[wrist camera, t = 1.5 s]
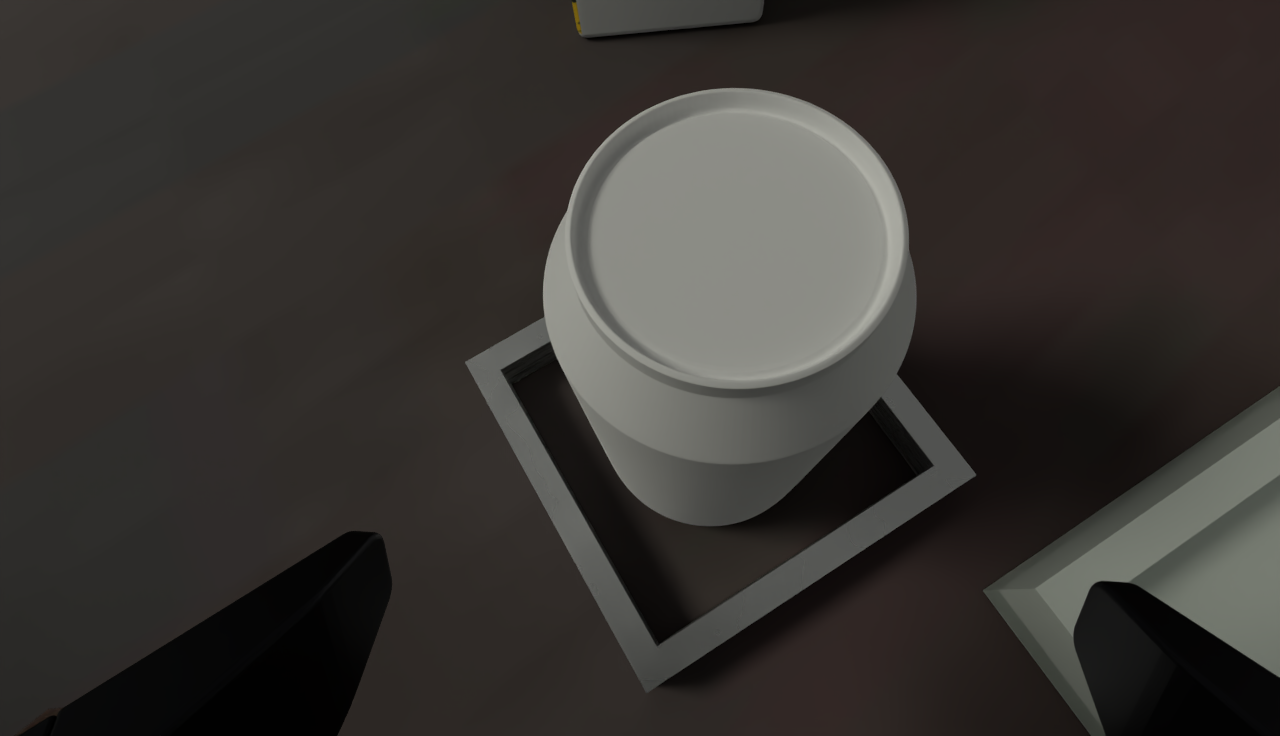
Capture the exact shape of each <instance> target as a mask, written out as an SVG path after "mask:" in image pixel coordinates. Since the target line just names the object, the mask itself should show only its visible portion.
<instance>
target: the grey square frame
mask: <svg viewBox="0 0 1280 736" xmlns="http://www.w3.org/2000/svg"><path fill="white" fill-rule="evenodd" d="M556 359H557V357H556V355H555V352H554V350H553V347H552V344H551V341H550V338H549V334H548V330H547V326H546V320H545V317H544V318H542V319H540V320H538V321H537V322H535V323H533V324H531V325H530V326H528V327H526V328H524V329H522V330H521V331H519V332H517V333H515V334H514V335H512V336H510V337H508V338H507V339H505V340H503V341H501V342H500V343H498V344H496V345H494V346H493V347H491V348H489V349H487V350H486V351H484V352H482V353H480V354H479V355H477V356H475V357H473V358H472V359H470V360H468V361H466V362H465V363H466V365H467V367H468V368H469V370H470V372H471V374H472V376H473V377H474V379H475V381H476V383H477V385H478V387H479V388H480V390H481V392H482V394H483V396H484V398H485V399H486V401H487V403H488V405H489V407H490V408H491V410H492V412H493V414H494V416H495V418H496V419H497V421H498V423H499V425H500V427H501V429H502V430H503V432H504V434H505V436H506V438H507V440H508V441H509V443H510V445H511V447H512V449H513V450H514V452H515V454H516V456H517V458H518V460H519V461H520V463H521V465H522V467H523V469H524V471H525V472H526V474H527V476H528V478H529V480H530V481H531V483H532V485H533V487H534V489H535V491H536V492H537V494H538V496H539V498H540V500H541V502H542V503H543V505H544V507H545V509H546V511H547V512H548V514H549V516H550V518H551V520H552V522H553V523H554V525H555V527H556V529H557V531H558V533H559V534H560V536H561V538H562V540H563V542H564V543H565V545H566V547H567V549H568V551H569V553H570V554H571V556H572V558H573V560H574V562H575V564H576V565H577V567H578V569H579V571H580V573H581V574H582V576H583V578H584V580H585V582H586V584H587V585H588V587H589V589H590V591H591V593H592V595H593V596H594V598H595V600H596V602H597V604H598V606H599V607H600V609H601V611H602V613H603V615H604V616H605V618H606V620H607V622H608V624H609V626H610V627H611V629H612V631H613V633H614V635H615V637H616V638H617V640H618V642H619V644H620V646H621V647H622V649H623V651H624V653H625V655H626V657H627V658H628V660H629V662H630V664H631V666H632V668H633V669H634V671H635V673H636V675H637V677H638V678H639V680H640V682H641V684H642V686H643V688H644V689H645V691H646V693H648V692H649V691H651V690H652V689H654V688H655V687H657V686H658V685H660V684H661V683H663V682H664V681H666V680H667V679H669V678H670V677H672V676H673V675H675V674H676V673H678V672H679V671H681V670H682V669H684V668H685V667H687V666H688V665H690V664H691V663H693V662H694V661H696V660H698V659H699V658H701V657H702V656H704V655H705V654H707V653H708V652H710V651H711V650H713V649H714V648H716V647H717V646H719V645H720V644H722V643H723V642H725V641H726V640H728V639H729V638H731V637H732V636H734V635H735V634H737V633H738V632H740V631H741V630H743V629H744V628H746V627H747V626H749V625H750V624H752V623H754V622H755V621H757V620H758V619H760V618H761V617H763V616H764V615H766V614H767V613H769V612H770V611H772V610H773V609H775V608H776V607H778V606H779V605H781V604H782V603H784V602H785V601H787V600H788V599H790V598H791V597H793V596H794V595H796V594H797V593H799V592H800V591H802V590H803V589H805V588H806V587H808V586H810V585H811V584H813V583H814V582H816V581H817V580H819V579H820V578H822V577H823V576H825V575H826V574H828V573H829V572H831V571H832V570H834V569H835V568H837V567H838V566H840V565H841V564H843V563H844V562H846V561H847V560H849V559H850V558H852V557H853V556H855V555H856V554H858V553H859V552H861V551H862V550H864V549H866V548H867V547H869V546H870V545H872V544H873V543H875V542H876V541H878V540H879V539H881V538H882V537H884V536H885V535H887V534H888V533H890V532H891V531H893V530H894V529H896V528H897V527H899V526H900V525H902V524H903V523H905V522H906V521H908V520H909V519H911V518H912V517H914V516H915V515H917V514H918V513H920V512H922V511H923V510H925V509H926V508H928V507H929V506H931V505H932V504H934V503H935V502H937V501H938V500H940V499H941V498H943V497H944V496H946V495H947V494H949V493H950V492H952V491H953V490H955V489H956V488H958V487H959V486H961V485H962V484H964V483H965V482H967V481H968V480H970V479H971V478H973V477H974V476H976V474H975V472H974V471H973V470H972V468H971V467H970V466H969V465H968V463H967V462H966V461H965V460H964V458H963V457H962V456H961V455H960V453H959V452H958V451H957V449H956V448H955V447H954V446H953V444H952V443H951V442H950V441H949V439H948V438H947V437H946V436H945V434H944V433H943V432H942V431H941V429H940V428H939V427H938V425H937V424H936V423H935V422H934V420H933V419H932V418H931V417H930V415H929V414H928V413H927V412H926V410H925V409H924V408H923V406H922V405H921V404H920V403H919V401H918V400H917V399H916V398H915V396H914V395H913V394H912V393H911V391H910V390H909V389H908V388H907V386H906V385H905V384H904V382H903V381H902V380H901V379H900V377H899V376H898V375H897V374H896V375H895V377H894V379H893V381H892V382H891V384H890V385H889V387H888V388H887V390H886V391H885V392H884V394H883V395H882V396H881V397H880V399H879V400H878V401H877V402H876V403H875V404H874V406H873V407H872V408H871V409H870V410H869V411H868V412H869V413H870V415H871V416H872V417H873V419H874V420H875V421H876V422H877V424H878V425H879V426H880V428H881V429H882V430H883V432H884V433H885V434H886V436H887V437H888V438H889V440H890V441H891V442H892V444H893V445H894V446H895V448H896V449H897V450H898V451H899V453H900V454H901V455H902V457H903V458H904V459H905V461H906V462H907V463H908V465H909V466H910V467H911V469H912V470H913V471H914V473H915V474H916V476H915V477H913V478H912V479H910V480H909V481H907V482H905V483H904V484H902V485H901V486H899V487H898V488H896V489H895V490H893V491H892V492H890V493H889V494H887V495H886V496H884V497H882V498H881V499H879V500H878V501H876V502H875V503H873V504H872V505H870V506H869V507H867V508H866V509H864V510H863V511H861V512H859V513H858V514H856V515H855V516H853V517H852V518H850V519H849V520H847V521H846V522H844V523H843V524H841V525H840V526H838V527H836V528H835V529H833V530H832V531H830V532H829V533H827V534H826V535H824V536H823V537H821V538H820V539H818V540H817V541H815V542H813V543H812V544H810V545H809V546H807V547H806V548H804V549H803V550H801V551H800V552H798V553H797V554H795V555H794V556H792V557H790V558H789V559H787V560H786V561H784V562H783V563H781V564H780V565H778V566H777V567H775V568H774V569H772V570H771V571H769V572H767V573H766V574H764V575H763V576H761V577H760V578H758V579H757V580H755V581H754V582H752V583H751V584H749V585H747V586H746V587H744V588H743V589H741V590H740V591H738V592H737V593H735V594H734V595H732V596H731V597H729V598H728V599H726V600H724V601H723V602H721V603H720V604H718V605H717V606H715V607H714V608H712V609H711V610H709V611H708V612H706V613H705V614H703V615H701V616H700V617H698V618H697V619H695V620H694V621H692V622H691V623H689V624H688V625H686V626H685V627H683V628H682V629H680V630H678V631H677V632H675V633H674V634H672V635H671V636H669V637H668V638H666V639H665V640H663V641H662V642H660V643H658V641H657V639H656V638H655V636H654V634H653V632H652V631H651V629H650V627H649V625H648V624H647V622H646V620H645V618H644V617H643V615H642V613H641V611H640V609H639V608H638V606H637V604H636V602H635V601H634V599H633V597H632V595H631V594H630V592H629V590H628V588H627V587H626V585H625V583H624V581H623V580H622V578H621V576H620V574H619V572H618V571H617V569H616V567H615V565H614V564H613V562H612V560H611V558H610V557H609V555H608V553H607V551H606V550H605V548H604V546H603V544H602V543H601V541H600V539H599V537H598V535H597V534H596V532H595V530H594V528H593V527H592V525H591V523H590V521H589V520H588V518H587V516H586V514H585V513H584V511H583V509H582V507H581V506H580V504H579V502H578V500H577V498H576V497H575V495H574V493H573V491H572V490H571V488H570V486H569V484H568V483H567V481H566V479H565V477H564V476H563V474H562V472H561V470H560V469H559V467H558V465H557V463H556V461H555V460H554V458H553V456H552V454H551V453H550V451H549V449H548V447H547V446H546V444H545V442H544V440H543V439H542V437H541V435H540V433H539V432H538V430H537V428H536V426H535V425H534V423H533V421H532V419H531V417H530V416H529V414H528V412H527V410H526V409H525V407H524V405H523V403H522V402H521V400H520V398H519V396H518V395H517V393H516V391H515V389H514V388H513V386H512V385H513V384H515V383H516V382H518V381H520V380H522V379H523V378H525V377H527V376H528V375H530V374H532V373H534V372H535V371H537V370H539V369H541V368H542V367H544V366H546V365H547V364H549V363H551V362H553V361H554V360H556Z"/></svg>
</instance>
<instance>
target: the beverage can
mask: <svg viewBox="0 0 1280 736" xmlns="http://www.w3.org/2000/svg"><path fill="white" fill-rule="evenodd" d="M543 304H544V314H545V320H546V326H547V330H548V334H549V338H550V341H551V344H552V347H553V350H554V352H555V355H556V357H557V359H558V361H559V363H560V366H561V368H562V370H563V372H564V374H565V375H566V377H567V379H568V381H569V383H570V385H571V387H572V389H573V391H574V393H575V395H576V397H577V399H578V401H579V403H580V405H581V407H582V408H583V410H584V412H585V414H586V416H587V418H588V420H589V422H590V424H591V426H592V428H593V430H594V432H595V434H596V435H597V437H598V439H599V441H600V443H601V445H602V447H603V449H604V451H605V453H606V455H607V456H608V458H609V460H610V462H611V464H612V466H613V467H614V469H615V471H616V473H617V474H618V476H619V477H620V479H621V480H622V481H623V483H624V484H625V485H626V487H627V488H628V489H629V490H630V491H631V492H632V493H633V494H634V495H635V496H636V497H637V498H638V499H639V500H640V501H641V502H642V503H644V504H645V505H646V506H648V507H649V508H651V509H652V510H654V511H656V512H657V513H659V514H661V515H663V516H665V517H667V518H670V519H673V520H675V521H678V522H682V523H686V524H691V525H697V526H723V525H730V524H734V523H738V522H742V521H745V520H747V519H750V518H752V517H755V516H757V515H759V514H761V513H762V512H764V511H766V510H767V509H769V508H770V507H772V506H773V505H775V504H776V503H777V502H778V501H780V500H781V499H782V498H783V497H784V496H785V495H786V494H787V493H789V492H790V491H791V490H792V489H793V488H794V487H795V486H796V485H797V484H798V483H799V482H800V481H801V480H802V479H803V478H804V477H805V476H806V475H807V474H808V473H809V472H810V471H811V470H812V469H813V467H814V466H815V465H816V464H817V463H818V462H819V461H820V460H821V459H822V458H823V457H824V456H825V455H826V454H827V453H828V452H829V451H830V450H831V449H832V448H833V447H834V446H835V445H836V444H837V443H838V442H839V441H840V440H841V439H842V438H843V437H844V436H845V435H846V434H847V433H848V432H849V431H850V430H851V429H852V428H853V427H854V425H855V424H856V423H857V422H858V421H859V420H860V419H861V418H862V417H863V416H864V415H865V414H866V413H867V412H868V411H869V410H870V409H871V408H872V407H873V406H874V404H875V403H876V402H877V401H878V400H879V399H880V397H881V396H882V395H883V394H884V392H885V391H886V390H887V388H888V387H889V385H890V384H891V382H892V381H893V379H894V377H895V375H896V374H897V372H898V370H899V368H900V366H901V364H902V362H903V360H904V357H905V355H906V352H907V350H908V347H909V344H910V340H911V337H912V333H913V328H914V323H915V315H916V282H915V274H914V268H913V264H912V260H911V256H910V253H909V231H908V221H907V215H906V211H905V207H904V203H903V200H902V197H901V194H900V191H899V189H898V186H897V184H896V182H895V180H894V178H893V176H892V174H891V172H890V171H889V169H888V167H887V166H886V164H885V163H884V161H883V160H882V159H881V157H880V156H879V155H878V153H877V152H876V151H875V150H874V149H873V147H872V146H871V145H870V144H869V143H868V142H867V141H866V140H865V139H864V138H863V137H862V136H861V135H860V134H859V133H857V132H856V131H855V130H854V129H853V128H851V127H850V126H849V125H847V124H846V123H845V122H843V121H842V120H840V119H839V118H837V117H836V116H834V115H832V114H831V113H829V112H827V111H825V110H823V109H822V108H819V107H817V106H815V105H813V104H811V103H808V102H806V101H803V100H800V99H798V98H795V97H791V96H788V95H784V94H780V93H776V92H771V91H765V90H757V89H746V88H724V89H713V90H705V91H699V92H694V93H690V94H686V95H682V96H679V97H676V98H673V99H670V100H667V101H664V102H662V103H660V104H657V105H655V106H653V107H651V108H649V109H647V110H645V111H643V112H641V113H640V114H638V115H636V116H635V117H633V118H632V119H630V120H629V121H627V122H626V123H625V124H623V125H622V126H621V127H619V128H618V129H617V130H616V131H615V132H614V133H612V134H611V135H610V136H609V137H608V138H607V139H606V140H605V141H604V142H603V143H602V144H601V146H600V147H599V148H598V149H597V150H596V151H595V153H594V154H593V155H592V157H591V158H590V159H589V161H588V162H587V164H586V166H585V167H584V169H583V171H582V172H581V174H580V176H579V178H578V180H577V182H576V185H575V187H574V190H573V192H572V195H571V198H570V202H569V206H568V210H567V212H566V214H565V216H564V218H563V219H562V221H561V223H560V225H559V227H558V229H557V231H556V234H555V236H554V239H553V241H552V244H551V247H550V250H549V254H548V258H547V262H546V267H545V274H544V284H543Z"/></svg>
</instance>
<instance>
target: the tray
mask: <svg viewBox="0 0 1280 736" xmlns="http://www.w3.org/2000/svg"><path fill="white" fill-rule="evenodd" d="M1098 581H1114V582H1128V583H1133V584H1135V585H1138V586H1139V587H1141V588H1142V589H1144V590H1146V591H1147V592H1149V593H1150V594H1152V595H1153V596H1155V597H1156V598H1158V599H1159V600H1161V601H1163V602H1164V603H1166V604H1167V605H1169V606H1170V607H1172V608H1173V609H1175V610H1176V611H1178V612H1179V613H1181V614H1183V615H1184V616H1186V617H1187V618H1189V619H1190V620H1192V621H1193V622H1195V623H1196V624H1198V625H1200V626H1201V627H1203V628H1204V629H1206V630H1207V631H1209V632H1210V633H1212V634H1213V635H1215V636H1216V637H1218V638H1220V639H1221V640H1223V641H1224V642H1226V643H1227V644H1229V645H1230V646H1232V647H1233V648H1235V649H1237V650H1238V651H1240V652H1241V653H1243V654H1244V655H1246V656H1247V657H1249V658H1250V659H1252V660H1253V661H1255V662H1257V663H1258V664H1260V665H1261V666H1263V667H1264V668H1266V669H1267V670H1269V671H1270V672H1272V673H1274V674H1275V675H1277V676H1278V677H1280V386H1279V387H1278V388H1276V389H1275V390H1273V391H1272V392H1270V393H1269V394H1268V395H1266V396H1265V397H1263V398H1262V399H1260V400H1259V401H1257V402H1256V403H1254V404H1253V405H1252V406H1250V407H1249V408H1247V409H1246V410H1244V411H1243V412H1241V413H1240V414H1238V415H1237V416H1236V417H1234V418H1233V419H1231V420H1230V421H1228V422H1227V423H1225V424H1224V425H1222V426H1221V427H1220V428H1218V429H1217V430H1215V431H1214V432H1212V433H1211V434H1209V435H1208V436H1206V437H1205V438H1204V439H1202V440H1201V441H1199V442H1198V443H1196V444H1195V445H1193V446H1192V447H1191V448H1189V449H1188V450H1186V451H1185V452H1183V453H1182V454H1180V455H1179V456H1177V457H1176V458H1175V459H1173V460H1172V461H1170V462H1169V463H1167V464H1166V465H1164V466H1163V467H1161V468H1160V469H1159V470H1157V471H1156V472H1154V473H1153V474H1151V475H1150V476H1148V477H1147V478H1145V479H1144V480H1143V481H1141V482H1140V483H1138V484H1137V485H1135V486H1134V487H1132V488H1131V489H1129V490H1128V491H1127V492H1125V493H1124V494H1122V495H1121V496H1119V497H1118V498H1116V499H1115V500H1113V501H1112V502H1111V503H1109V504H1108V505H1106V506H1105V507H1103V508H1102V509H1100V510H1099V511H1097V512H1096V513H1095V514H1093V515H1092V516H1090V517H1089V518H1087V519H1086V520H1084V521H1083V522H1081V523H1080V524H1079V525H1077V526H1076V527H1074V528H1073V529H1071V530H1070V531H1068V532H1067V533H1065V534H1064V535H1063V536H1061V537H1060V538H1058V539H1057V540H1055V541H1054V542H1052V543H1051V544H1049V545H1048V546H1047V547H1045V548H1044V549H1042V550H1041V551H1039V552H1038V553H1036V554H1035V555H1033V556H1032V557H1031V558H1029V559H1028V560H1026V561H1025V562H1023V563H1022V564H1020V565H1019V566H1017V567H1016V568H1015V569H1013V570H1012V571H1010V572H1009V573H1007V574H1006V575H1004V576H1003V577H1001V578H1000V579H999V580H997V581H996V582H994V583H993V584H991V585H990V586H988V587H987V588H985V589H984V590H983V592H984V593H985V595H986V596H987V597H988V599H989V600H990V601H991V603H992V604H993V605H994V607H995V608H996V609H997V611H998V612H999V613H1000V615H1001V616H1002V617H1003V619H1004V620H1005V621H1006V623H1007V624H1008V625H1009V627H1010V628H1011V629H1012V631H1013V632H1014V633H1015V635H1016V636H1017V637H1018V639H1019V640H1020V641H1021V643H1022V644H1023V645H1024V647H1025V648H1026V649H1027V651H1028V652H1029V653H1030V655H1031V656H1032V657H1033V659H1034V660H1035V661H1036V663H1037V664H1038V666H1039V667H1040V668H1041V670H1042V671H1043V672H1044V674H1045V675H1046V676H1047V678H1048V679H1049V680H1050V682H1051V683H1052V684H1053V686H1054V687H1055V688H1056V690H1057V691H1058V692H1059V694H1060V695H1061V696H1062V698H1063V699H1064V700H1065V702H1066V703H1067V704H1068V706H1069V707H1070V708H1071V710H1072V711H1073V712H1074V714H1075V715H1076V716H1077V718H1078V719H1079V720H1080V722H1081V723H1082V724H1083V726H1084V727H1085V728H1086V730H1087V731H1088V732H1089V734H1090V735H1091V736H1105V733H1104V730H1103V727H1102V724H1101V721H1100V719H1099V716H1098V713H1097V710H1096V707H1095V704H1094V702H1093V699H1092V696H1091V693H1090V690H1089V687H1088V685H1087V682H1086V679H1085V676H1084V673H1083V670H1082V668H1081V665H1080V662H1079V659H1078V656H1077V653H1076V650H1075V647H1074V641H1073V633H1074V627H1075V624H1076V622H1077V619H1078V617H1079V614H1080V612H1081V609H1082V607H1083V604H1084V602H1085V599H1086V597H1087V594H1088V592H1089V590H1090V588H1091V586H1092V585H1093V584H1094V583H1096V582H1098Z"/></svg>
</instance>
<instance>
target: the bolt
mask: <svg viewBox="0 0 1280 736" xmlns="http://www.w3.org/2000/svg"><path fill="white" fill-rule="evenodd" d="M61 709H62V708H54V709H48V710H47V711H45V712H44V713H43V714H42V715H40V716H39V717H38V718H36V719H35V720H34V721H32V722H31V723H30V724H29V725H27V726H26V727H25V728H23V729H22V730H21V731H20V732H18V733H17V734H16V735H14V736H18V735H20V734H22V733H23V732H25V731H27V730H28V729H30V728H31V727H33V726H35V725H36V724H38V723H39V722H41V721H43V720H44V719H46V718H47V717H49V716H52V715H55V716H57V714H58V712H59V711H60V710H61Z"/></svg>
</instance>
